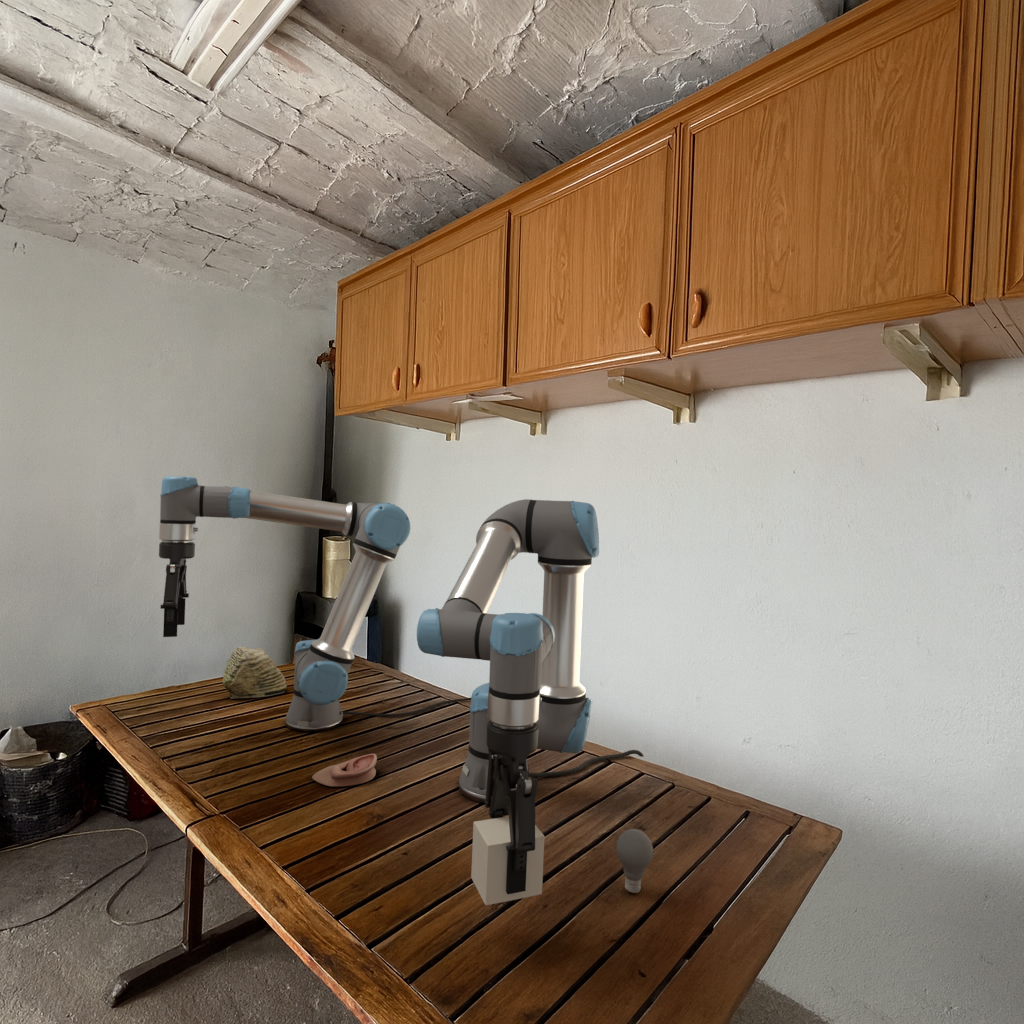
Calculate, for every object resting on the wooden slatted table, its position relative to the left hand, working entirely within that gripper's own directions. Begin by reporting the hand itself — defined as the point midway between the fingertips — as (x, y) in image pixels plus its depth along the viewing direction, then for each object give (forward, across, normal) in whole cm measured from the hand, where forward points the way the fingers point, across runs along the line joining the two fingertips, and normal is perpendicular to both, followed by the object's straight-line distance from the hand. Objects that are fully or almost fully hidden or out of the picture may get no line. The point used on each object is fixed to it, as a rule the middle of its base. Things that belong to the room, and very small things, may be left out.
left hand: (174, 630), depth 151 cm
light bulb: (+30, -79, -79) cm, 116 cm away
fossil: (+30, +43, -18) cm, 56 cm away
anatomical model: (+30, -23, -38) cm, 53 cm away
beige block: (+22, -83, -54) cm, 102 cm away
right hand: (+21, -83, -54) cm, 101 cm away
